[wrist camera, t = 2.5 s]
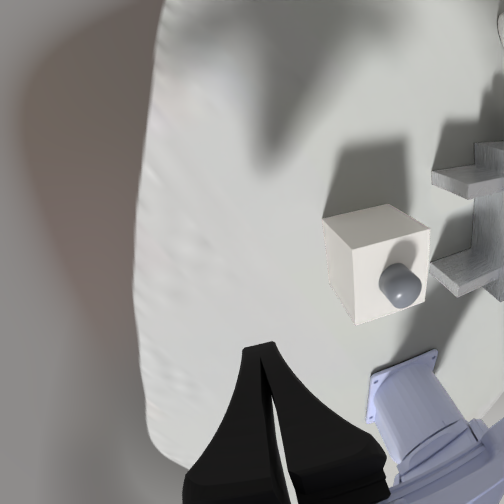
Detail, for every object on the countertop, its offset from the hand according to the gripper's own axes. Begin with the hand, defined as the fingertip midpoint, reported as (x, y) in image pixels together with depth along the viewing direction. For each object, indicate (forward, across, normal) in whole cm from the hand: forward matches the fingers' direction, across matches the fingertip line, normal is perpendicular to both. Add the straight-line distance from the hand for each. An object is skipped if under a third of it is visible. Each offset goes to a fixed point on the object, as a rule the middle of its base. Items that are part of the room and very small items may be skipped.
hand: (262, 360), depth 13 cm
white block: (+8, -8, 0) cm, 11 cm away
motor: (+8, -21, -1) cm, 22 cm away
